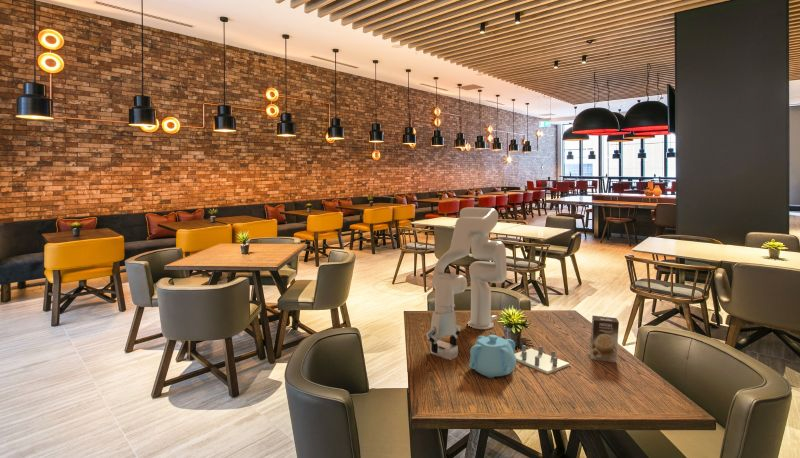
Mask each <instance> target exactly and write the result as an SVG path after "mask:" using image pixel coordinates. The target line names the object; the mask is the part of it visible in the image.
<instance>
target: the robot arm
mask: <svg viewBox="0 0 800 458" xmlns="http://www.w3.org/2000/svg"><path fill="white" fill-rule="evenodd" d="M498 221H499V212H498V211H497V210H496V209H495V208H493V207H477V206H476V207H475V206H473V207H468V206H467V207H464V208H461V210H460V211H459V217H458V218H457V220H456V221H455V224H454V229H453V233H452V238H451V242H450V246H449V249H448V250H447V251H446V252H444V253H443V254H442V255H441V257H439V259H438V260H437V261H436V264H435V266H434V269H433V275H432V278H431V279H432V280H431V281H432V282H431V283H432V287H433V288H434V311H433V312H432V316H431V322H430V323H431V325H430V329H429V331H427V332H426V333H425V335H426V338H427V340H428V341H429V342H430V343H431V351H432V352H434V353H438V344H437V341H438V340H440V339H444V338H447V337H449V343H450V344H453V345H456V346H457V339H458V338H459V337H458V336H459V335H460V331H461V329H462V326H461V325H459V324H457V318H456V317H457V316H456V312H455V307H456V303H455V295H456V294H462V293H463V292H465V290H466V289H467V285H468V281H467V278H466V277H465V276H464V275H461V274H455V273H446V272H445V269H446V268H447V266H448V265H449V264H452V263H453V262H454V261H457V260H459V259H462V258H464V257H465V258H466V257H467V256H469V255H470V253H471V256H472V257H473V259H475V260H478V261H474V262H471V264H470V265H469V278H470V320H468V321H467V324H468V325H467V326H468V327H469V326H470V328H471V327H472V328H471V329H476V330H489V329H492V328H494V326H495V325H494V322H493V321H494V320H496V319H498V316H497V315H495V314H494V315H491V314H492V313H491V311H492V307H491V306H492V290H491V287H490V284H488V283H493V284H502V283H504V282H505V281H506V279H507V276H508V275H507V273H508V272H507V270H508V269H507V268H508V267H507V251H506V250H507V249H506V246H505V244H504V243H503V242H502V241H500V240H490V233H491V232H492V230H493V229H494V228H495V227H496V226H497V224H498ZM470 251H471V252H470Z"/></svg>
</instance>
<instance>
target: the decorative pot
mask: <svg viewBox="0 0 800 458" xmlns="http://www.w3.org/2000/svg"><path fill="white" fill-rule="evenodd" d="M475 341H476V342H474V343H475V344H474V345H472V346H471V348H470V349H469V354H470V357H469V363H468V366H469V369H472V370H475V372H477V373H479V374H480V375H483V376H485V377H487V378H488V379H493V378H495V377H503V376H508V375H509V374H511V373H512V372H513V371H514V370H515V368H516V366H517V361H516V357H515V355H514V354H515V348H516V343H515V341H514V340H512V339H510V338H506V339H505V338H503V337H501V336H498V335H495V334H490V335H488V336H485V335H479V336H478V337H477V338H476V340H475Z"/></svg>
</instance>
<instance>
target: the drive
mask: <svg viewBox="0 0 800 458" xmlns="http://www.w3.org/2000/svg"><path fill="white" fill-rule="evenodd" d="M437 344H438V353H434V352H432V351H431V342H430V345H429V346H430V347H429V348H430V349H429V350H430V354H432V355H433V356H434V355H435V356H437V357H439V358H443V359H445V360H448V359H449V360H450V361H451V360H453V359H455V358H457V357H458V355H459V353H458V352H459V349H458V347H459V345H457V344H456V345H453V344H450V342H447V341H443V340H440V339H438V341H437ZM449 360H448V361H449Z"/></svg>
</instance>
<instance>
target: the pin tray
mask: <svg viewBox="0 0 800 458" xmlns="http://www.w3.org/2000/svg"><path fill="white" fill-rule="evenodd" d="M537 348H538V350H537V349H533V348H529V349H527V346H526V345H524V344H523V345H521V351H519V352H514V355H515V357H516V362H518V363H520V364H522V365H525V366H528V367H530V368H532V369H535V370H537V371H539V372H541V373H543V374H547V375H549V374H551V373H554V372H557V371H559V370H563V369H565V368H567V367H569V366H570V363H569V362H567V361H565V360H562V359H560V358H558V357H556V356H557V354H556V350H551V351H550V353H551V354H550V355H549V354H546V353H544V350H543V348H544V347H543V346H542V345H538V347H537Z"/></svg>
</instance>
